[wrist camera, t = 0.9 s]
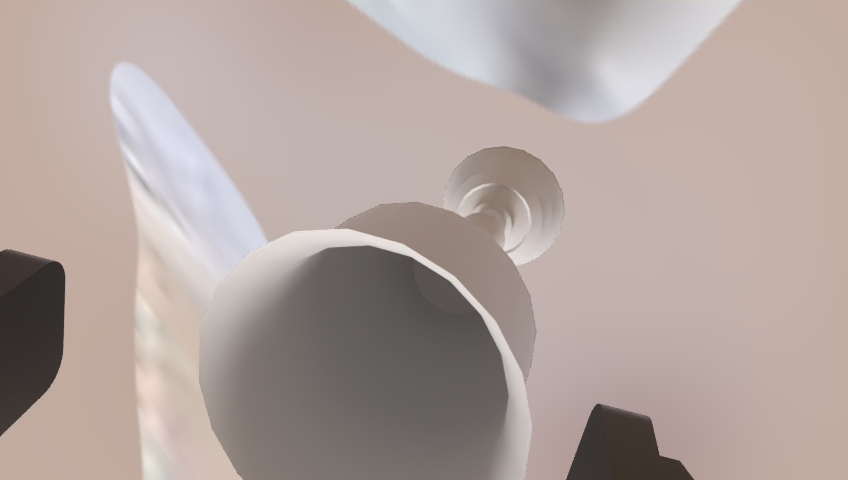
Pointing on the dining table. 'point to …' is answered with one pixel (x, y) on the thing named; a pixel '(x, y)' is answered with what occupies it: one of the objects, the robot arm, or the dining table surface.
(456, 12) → the dining table surface
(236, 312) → the chalice
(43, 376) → the robot arm
